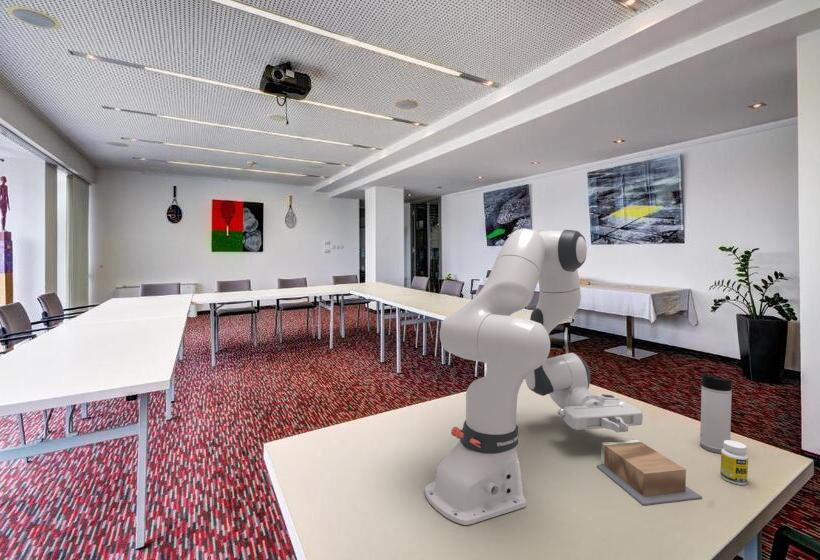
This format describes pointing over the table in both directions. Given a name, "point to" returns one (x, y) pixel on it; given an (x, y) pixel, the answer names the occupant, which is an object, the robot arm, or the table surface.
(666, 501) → the mat
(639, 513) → the table surface
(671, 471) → the walnut block
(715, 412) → the travel mug
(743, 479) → the supplement bottle
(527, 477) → the table surface
